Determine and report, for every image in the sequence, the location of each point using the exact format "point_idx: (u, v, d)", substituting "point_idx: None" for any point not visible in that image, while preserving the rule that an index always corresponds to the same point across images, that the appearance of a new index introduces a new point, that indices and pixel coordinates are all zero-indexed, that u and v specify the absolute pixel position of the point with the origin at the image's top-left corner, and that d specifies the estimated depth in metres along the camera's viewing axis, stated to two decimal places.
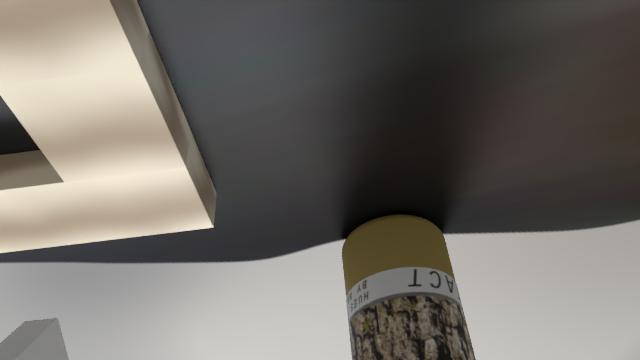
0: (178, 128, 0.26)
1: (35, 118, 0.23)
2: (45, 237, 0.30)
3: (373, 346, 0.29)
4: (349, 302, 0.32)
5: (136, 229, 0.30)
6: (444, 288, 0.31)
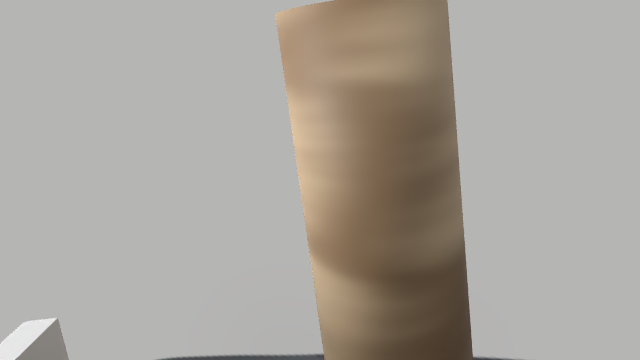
0: None
1: None
2: None
3: None
4: None
5: None
6: None
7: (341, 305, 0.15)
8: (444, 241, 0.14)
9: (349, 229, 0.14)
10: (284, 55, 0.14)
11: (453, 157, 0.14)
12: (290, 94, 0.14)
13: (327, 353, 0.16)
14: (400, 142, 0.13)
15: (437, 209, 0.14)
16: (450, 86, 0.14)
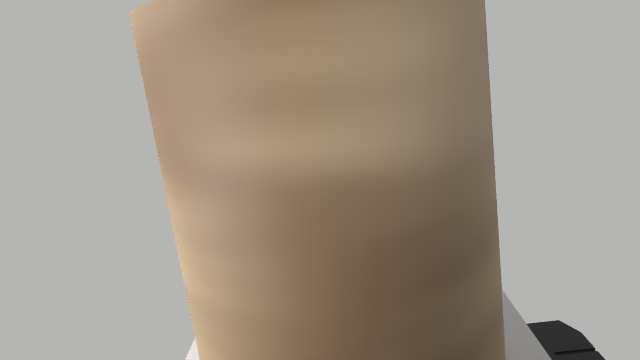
0: None
1: None
2: None
3: None
4: None
5: None
6: None
7: None
8: None
9: None
10: None
11: (496, 307, 0.07)
12: (163, 180, 0.07)
13: None
14: (387, 303, 0.06)
15: None
16: (491, 166, 0.07)
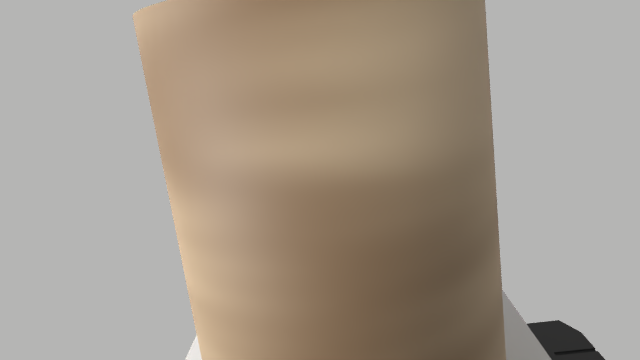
0: None
1: None
2: None
3: None
4: None
5: None
6: None
7: None
8: None
9: None
10: (150, 103, 0.07)
11: (496, 307, 0.07)
12: (166, 181, 0.07)
13: None
14: (388, 303, 0.06)
15: None
16: (491, 167, 0.07)
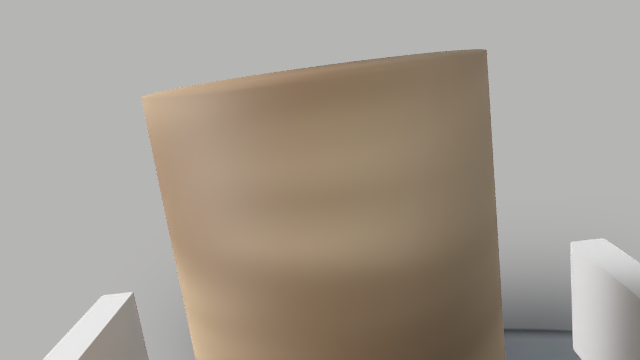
0: None
1: None
2: None
3: None
4: None
5: None
6: None
7: None
8: None
9: None
10: (159, 181, 0.07)
11: None
12: (174, 256, 0.07)
13: None
14: None
15: None
16: (494, 244, 0.07)
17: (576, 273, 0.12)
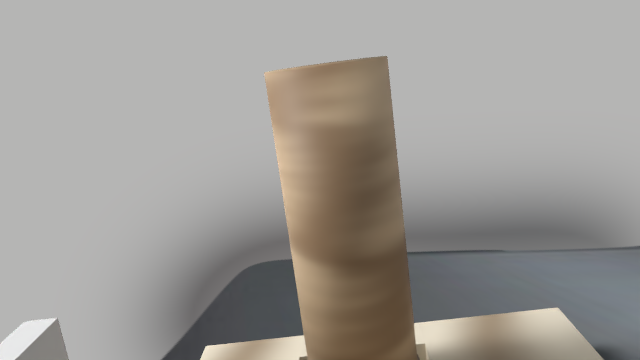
0: None
1: None
2: None
3: None
4: None
5: None
6: None
7: (313, 284, 0.20)
8: (387, 236, 0.20)
9: (318, 227, 0.19)
10: (270, 103, 0.20)
11: (393, 175, 0.20)
12: (275, 130, 0.20)
13: (304, 321, 0.21)
14: (352, 166, 0.19)
15: (381, 213, 0.19)
16: (390, 125, 0.19)
17: None
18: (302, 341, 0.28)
